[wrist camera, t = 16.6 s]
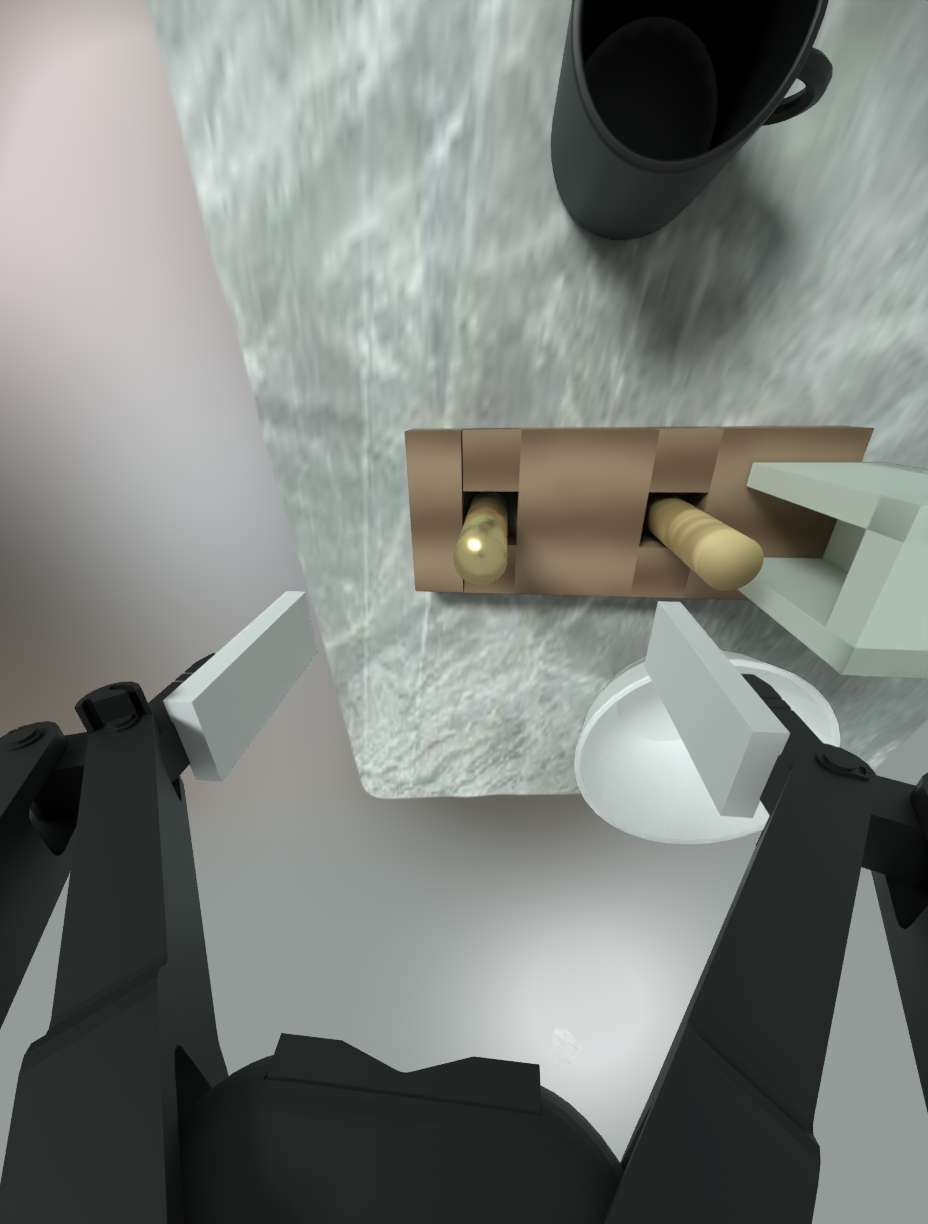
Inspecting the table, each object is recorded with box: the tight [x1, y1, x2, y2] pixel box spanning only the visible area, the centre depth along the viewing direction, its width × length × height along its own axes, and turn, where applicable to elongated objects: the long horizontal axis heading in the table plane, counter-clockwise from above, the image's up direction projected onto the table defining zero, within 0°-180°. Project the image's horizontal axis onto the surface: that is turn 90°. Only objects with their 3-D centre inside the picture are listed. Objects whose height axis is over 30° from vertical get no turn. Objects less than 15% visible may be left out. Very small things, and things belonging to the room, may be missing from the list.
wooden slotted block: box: [405, 426, 874, 600], centre depth 28 cm, size 12×30×12 cm, turn 91°
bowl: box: [574, 650, 840, 845], centre depth 37 cm, size 19×19×8 cm
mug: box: [551, 0, 832, 240], centre depth 20 cm, size 9×12×9 cm
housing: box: [738, 462, 928, 679], centre depth 24 cm, size 8×8×13 cm
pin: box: [453, 491, 507, 585], centre depth 29 cm, size 3×3×12 cm
